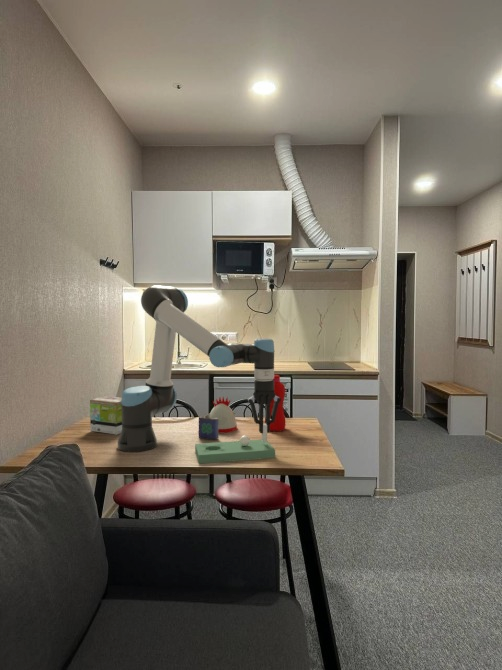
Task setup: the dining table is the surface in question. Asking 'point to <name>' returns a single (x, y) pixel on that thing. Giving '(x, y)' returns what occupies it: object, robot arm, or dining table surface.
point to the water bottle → (280, 417)
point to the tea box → (106, 415)
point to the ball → (244, 440)
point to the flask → (208, 427)
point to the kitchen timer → (224, 416)
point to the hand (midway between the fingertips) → (264, 441)
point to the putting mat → (233, 451)
